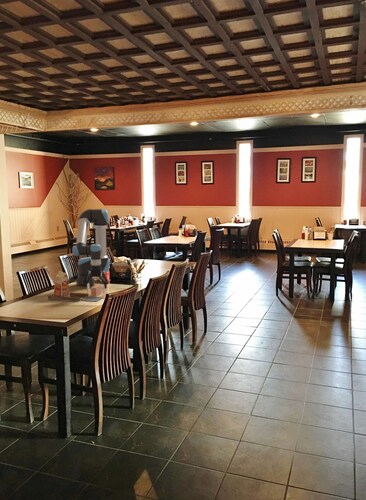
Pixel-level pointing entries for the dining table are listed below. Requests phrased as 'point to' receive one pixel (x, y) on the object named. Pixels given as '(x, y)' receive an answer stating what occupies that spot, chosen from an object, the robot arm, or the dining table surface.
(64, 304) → the dining table surface
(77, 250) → the robot arm
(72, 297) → the brown wooden tray
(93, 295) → the latch block
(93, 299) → the mat
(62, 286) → the milk carton
